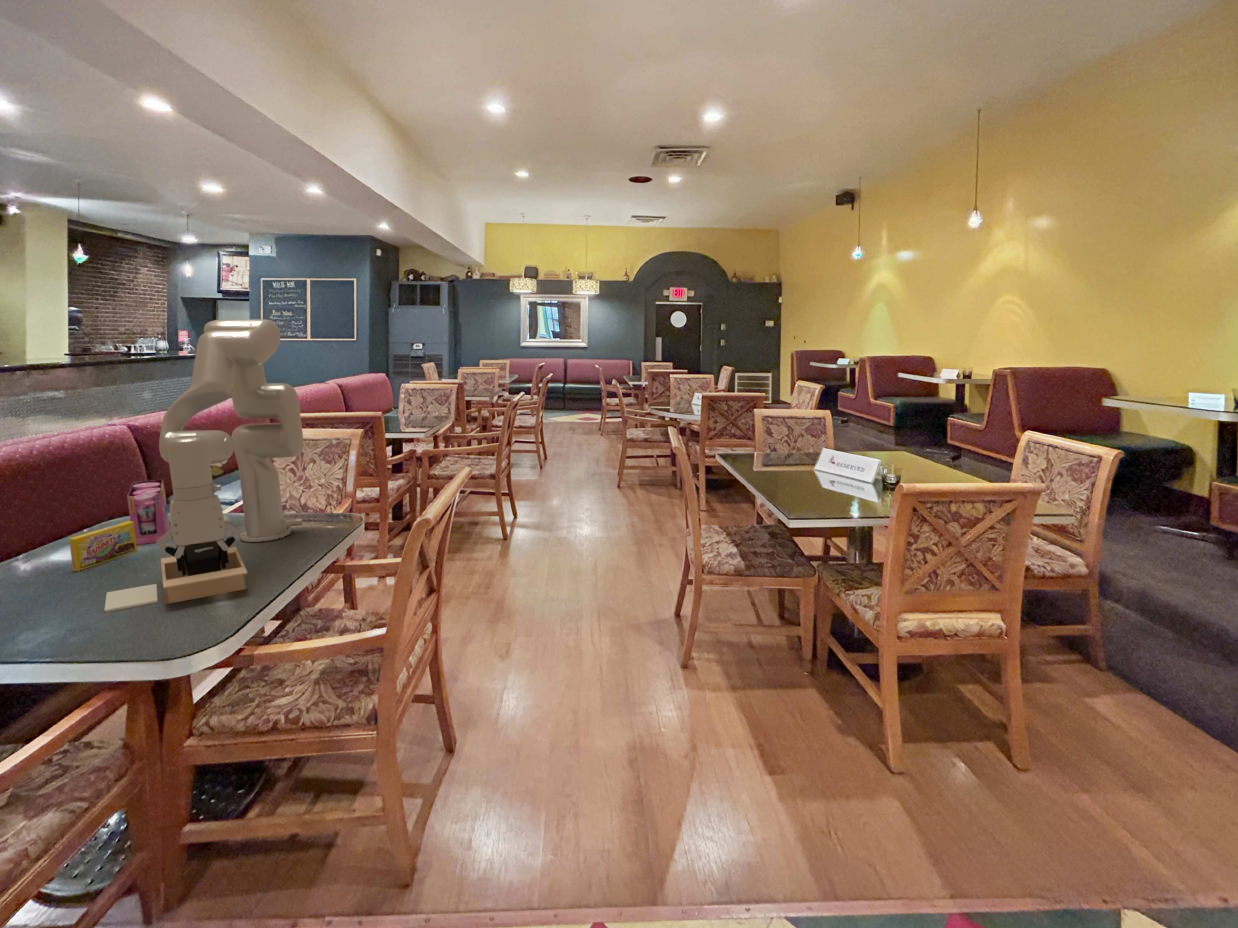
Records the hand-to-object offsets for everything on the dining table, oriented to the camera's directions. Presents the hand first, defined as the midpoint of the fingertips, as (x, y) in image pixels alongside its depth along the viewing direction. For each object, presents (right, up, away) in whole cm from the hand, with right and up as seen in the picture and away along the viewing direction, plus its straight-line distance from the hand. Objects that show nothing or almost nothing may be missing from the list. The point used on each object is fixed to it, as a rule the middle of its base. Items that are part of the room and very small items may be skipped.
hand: (204, 569), depth 154 cm
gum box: (-41, +3, +43) cm, 59 cm away
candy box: (-36, -1, +19) cm, 41 cm away
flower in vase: (-27, +5, +49) cm, 56 cm away
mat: (-12, -5, -6) cm, 14 cm away
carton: (0, -4, 0) cm, 4 cm away
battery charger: (0, -4, +1) cm, 4 cm away
